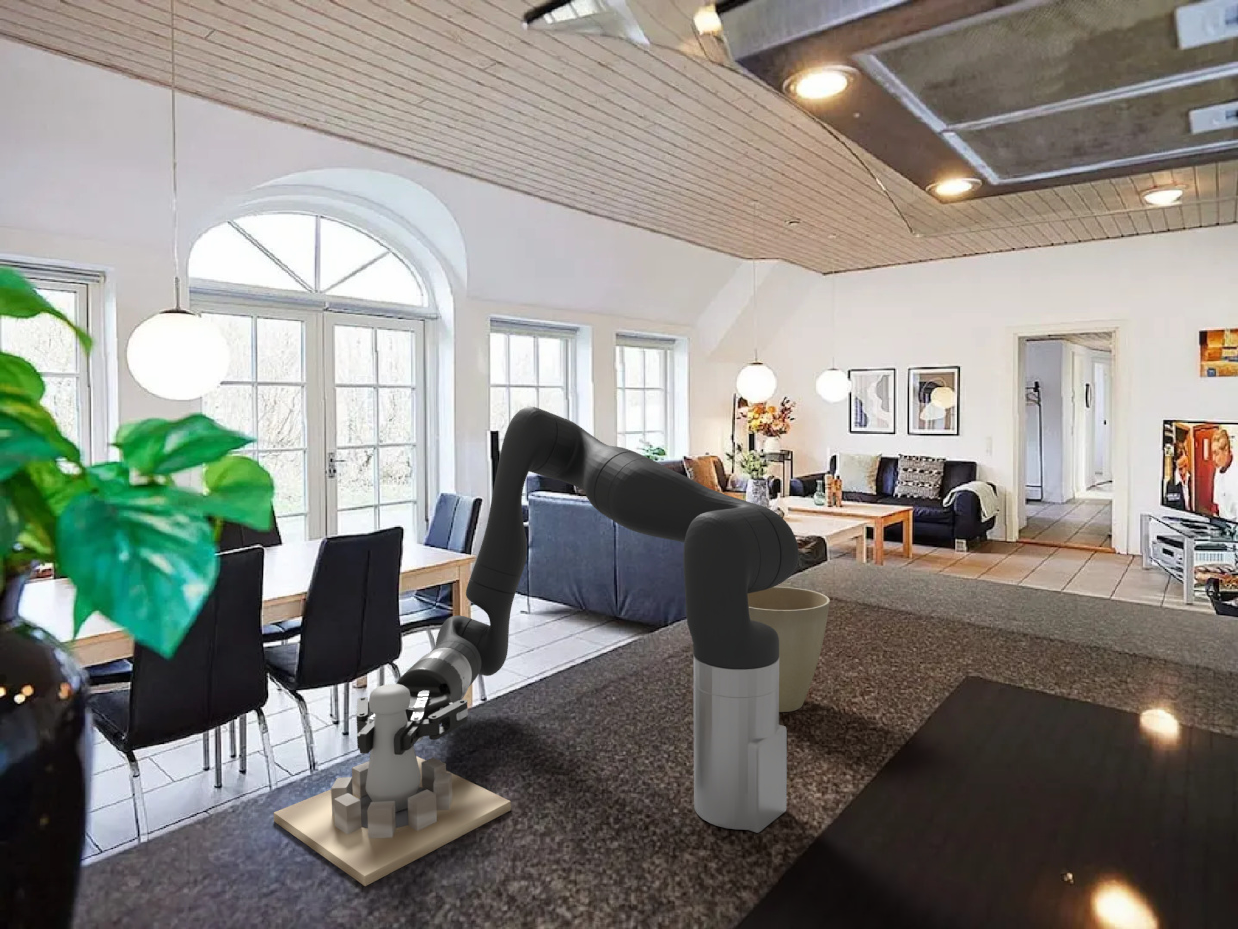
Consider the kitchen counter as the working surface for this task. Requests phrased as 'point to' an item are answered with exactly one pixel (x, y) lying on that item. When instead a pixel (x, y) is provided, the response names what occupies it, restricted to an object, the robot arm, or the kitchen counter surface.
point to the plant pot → (793, 636)
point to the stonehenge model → (389, 820)
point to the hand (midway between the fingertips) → (380, 745)
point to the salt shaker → (391, 749)
